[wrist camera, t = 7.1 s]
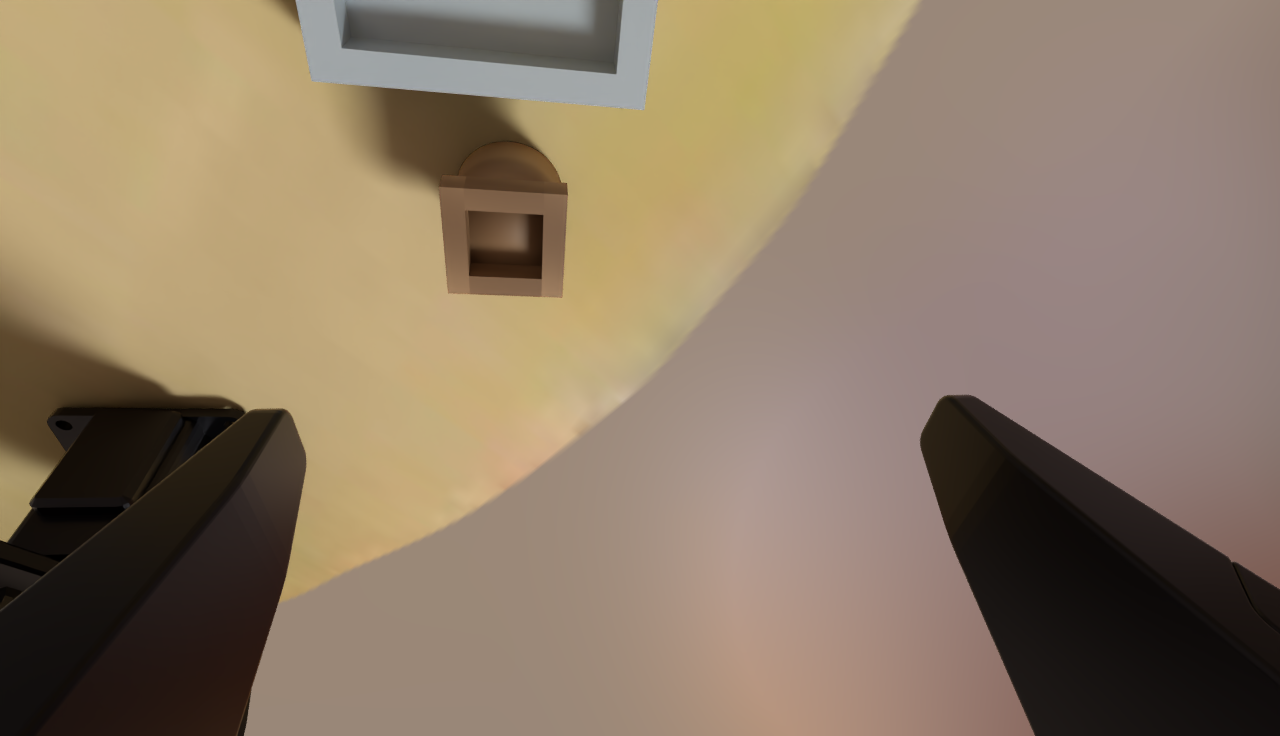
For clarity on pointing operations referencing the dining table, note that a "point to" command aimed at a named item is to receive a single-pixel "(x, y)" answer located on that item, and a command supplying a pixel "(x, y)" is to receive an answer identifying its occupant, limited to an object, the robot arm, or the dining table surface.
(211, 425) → the robot arm
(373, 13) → the tray
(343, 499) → the dining table surface
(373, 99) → the dining table surface
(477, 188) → the egg cup
